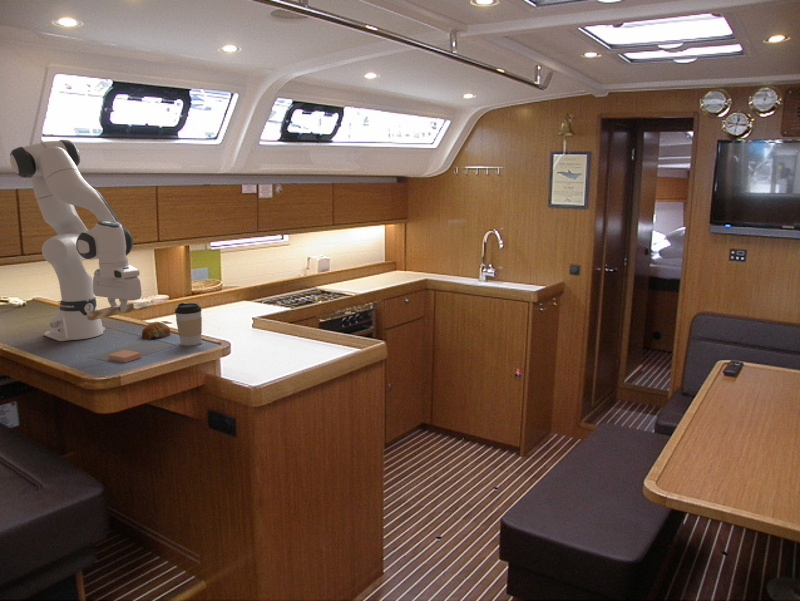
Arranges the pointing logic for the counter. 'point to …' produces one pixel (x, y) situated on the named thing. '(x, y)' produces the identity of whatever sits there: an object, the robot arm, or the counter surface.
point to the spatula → (116, 310)
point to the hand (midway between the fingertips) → (118, 311)
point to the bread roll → (155, 330)
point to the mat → (134, 350)
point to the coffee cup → (189, 323)
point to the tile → (124, 356)
